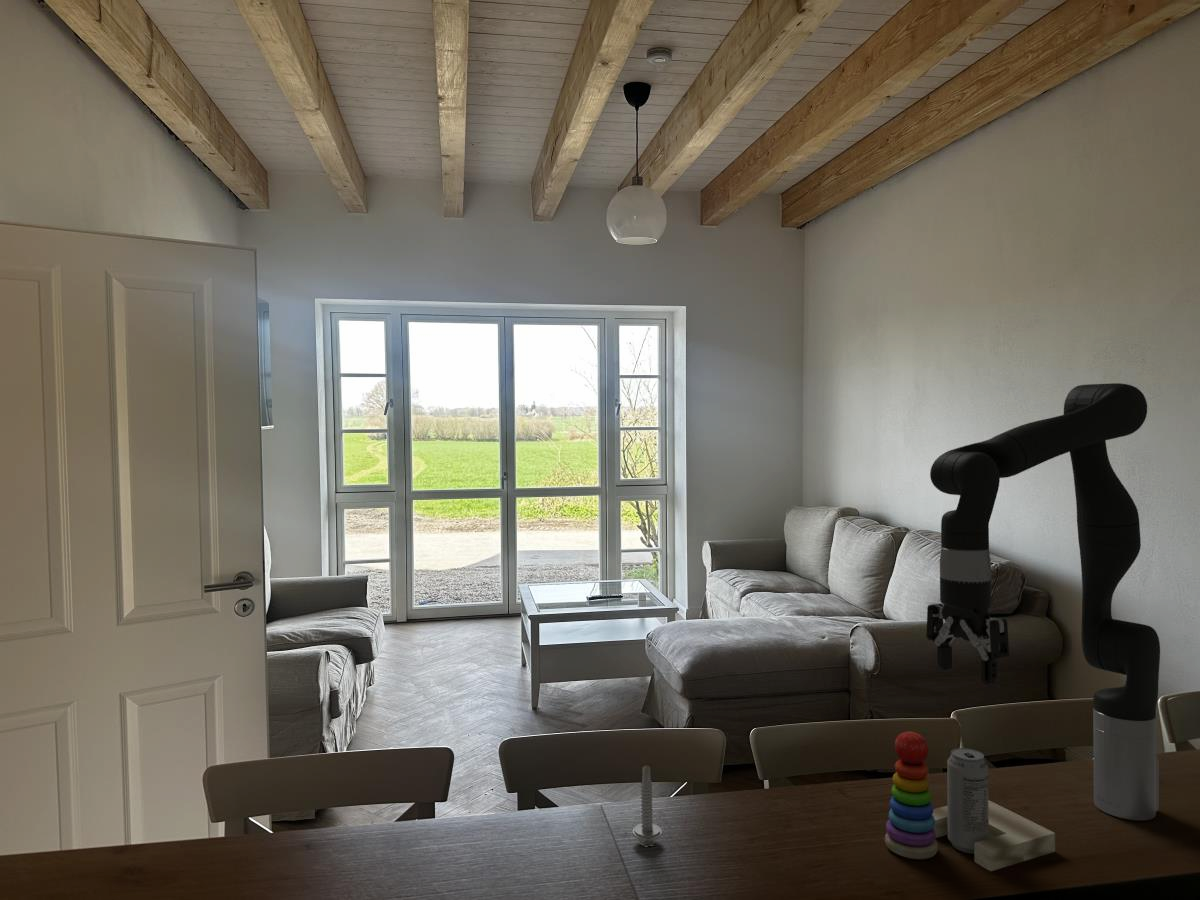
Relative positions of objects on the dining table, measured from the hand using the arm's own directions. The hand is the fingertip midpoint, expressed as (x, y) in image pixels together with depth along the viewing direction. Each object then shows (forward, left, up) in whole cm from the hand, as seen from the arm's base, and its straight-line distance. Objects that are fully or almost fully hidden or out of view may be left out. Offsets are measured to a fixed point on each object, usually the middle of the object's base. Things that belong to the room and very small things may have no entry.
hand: (966, 675), depth 128 cm
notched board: (-4, 0, -28) cm, 28 cm away
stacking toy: (+9, -3, -28) cm, 29 cm away
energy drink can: (0, 0, -28) cm, 28 cm away
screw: (+47, -22, -28) cm, 59 cm away
